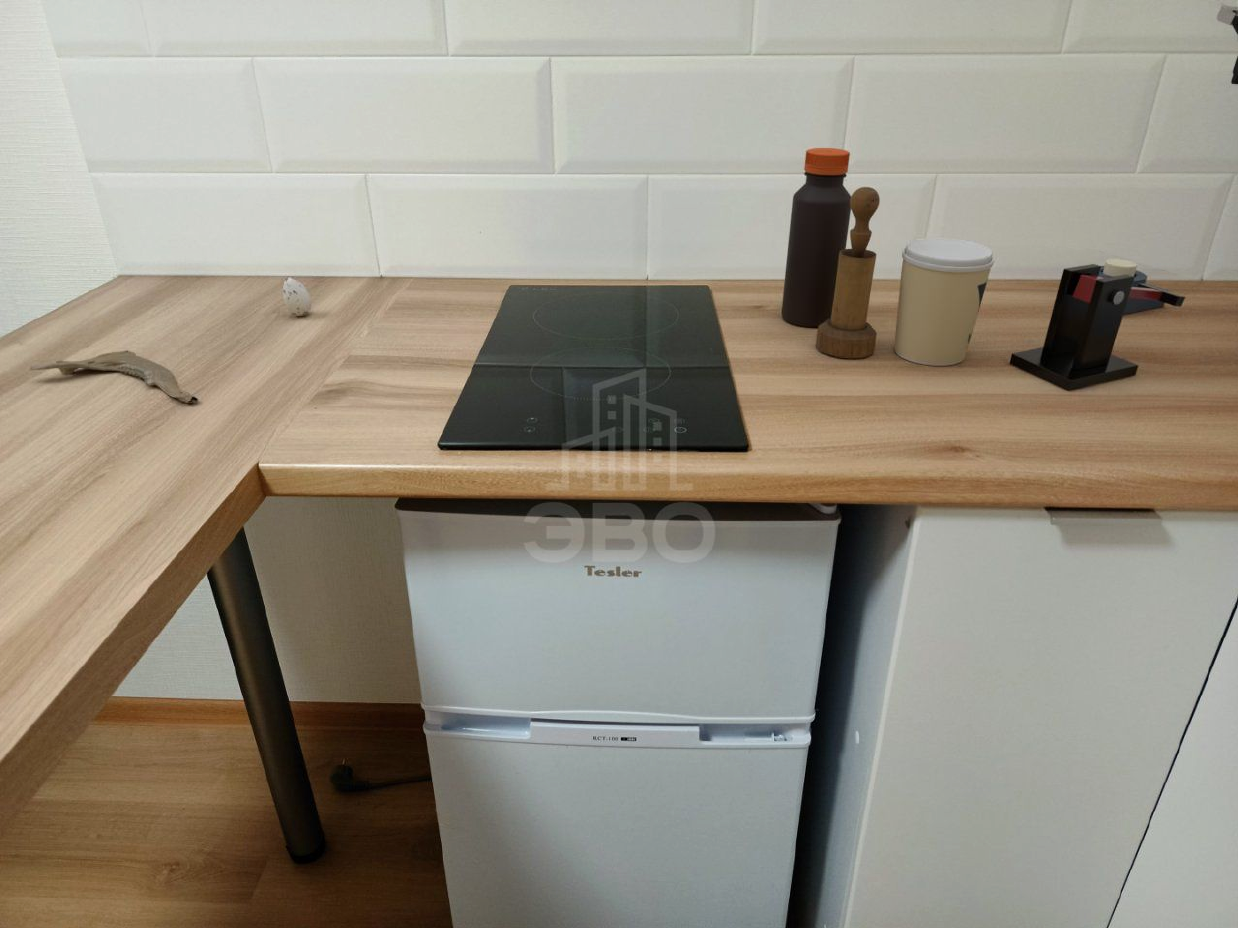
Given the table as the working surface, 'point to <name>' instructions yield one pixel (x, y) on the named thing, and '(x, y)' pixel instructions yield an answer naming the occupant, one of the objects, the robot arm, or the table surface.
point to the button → (1119, 267)
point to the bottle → (816, 238)
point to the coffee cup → (940, 299)
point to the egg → (296, 297)
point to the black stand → (1082, 334)
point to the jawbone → (127, 371)
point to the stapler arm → (1139, 292)
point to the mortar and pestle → (853, 288)
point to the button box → (1137, 304)
